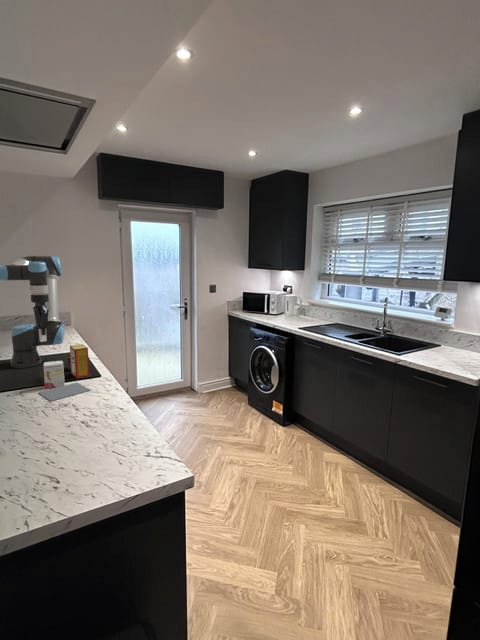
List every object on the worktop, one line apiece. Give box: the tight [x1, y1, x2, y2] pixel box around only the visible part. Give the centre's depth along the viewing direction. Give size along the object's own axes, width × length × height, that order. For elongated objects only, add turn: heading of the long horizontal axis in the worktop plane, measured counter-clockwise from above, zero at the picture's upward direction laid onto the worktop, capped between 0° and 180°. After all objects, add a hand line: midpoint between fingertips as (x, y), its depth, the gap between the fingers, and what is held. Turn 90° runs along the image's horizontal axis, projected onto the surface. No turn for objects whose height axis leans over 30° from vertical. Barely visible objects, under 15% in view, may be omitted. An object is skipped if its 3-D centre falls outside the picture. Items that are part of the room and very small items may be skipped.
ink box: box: [43, 360, 66, 390], centre depth 172 cm, size 9×5×12 cm, turn 120°
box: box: [67, 356, 71, 371], centre depth 198 cm, size 6×6×7 cm
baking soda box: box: [69, 343, 90, 379], centre depth 188 cm, size 10×6×16 cm
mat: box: [38, 382, 91, 402], centre depth 166 cm, size 14×18×1 cm
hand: (43, 341), depth 175 cm, fingers closed
